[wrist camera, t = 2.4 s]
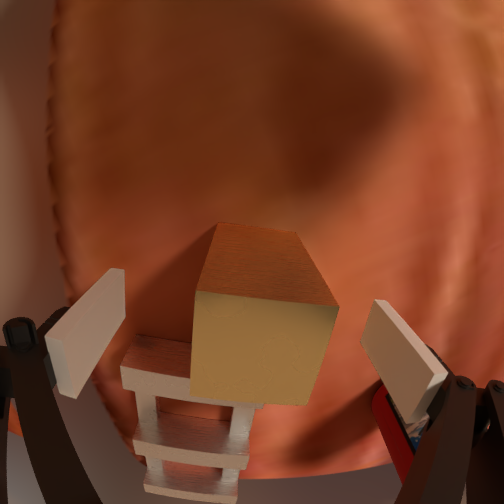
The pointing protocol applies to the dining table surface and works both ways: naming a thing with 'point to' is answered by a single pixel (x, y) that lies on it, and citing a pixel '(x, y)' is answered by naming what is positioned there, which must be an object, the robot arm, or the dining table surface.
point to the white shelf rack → (183, 427)
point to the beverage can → (397, 431)
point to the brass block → (259, 318)
